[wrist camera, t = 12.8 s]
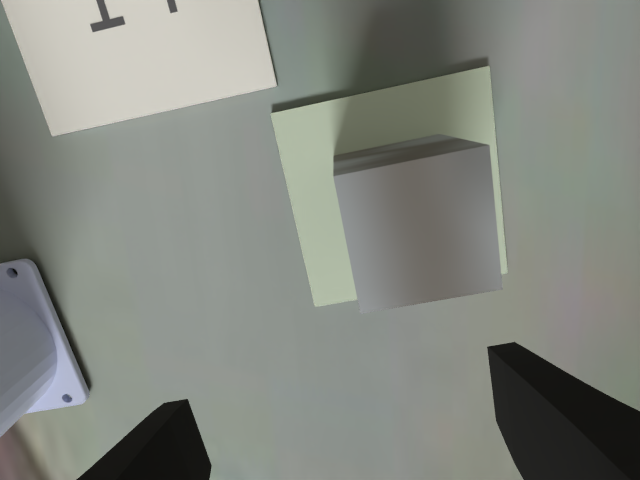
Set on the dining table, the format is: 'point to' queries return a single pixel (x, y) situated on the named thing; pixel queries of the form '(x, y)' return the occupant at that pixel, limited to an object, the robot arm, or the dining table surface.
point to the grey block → (419, 221)
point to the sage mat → (362, 133)
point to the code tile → (137, 56)
